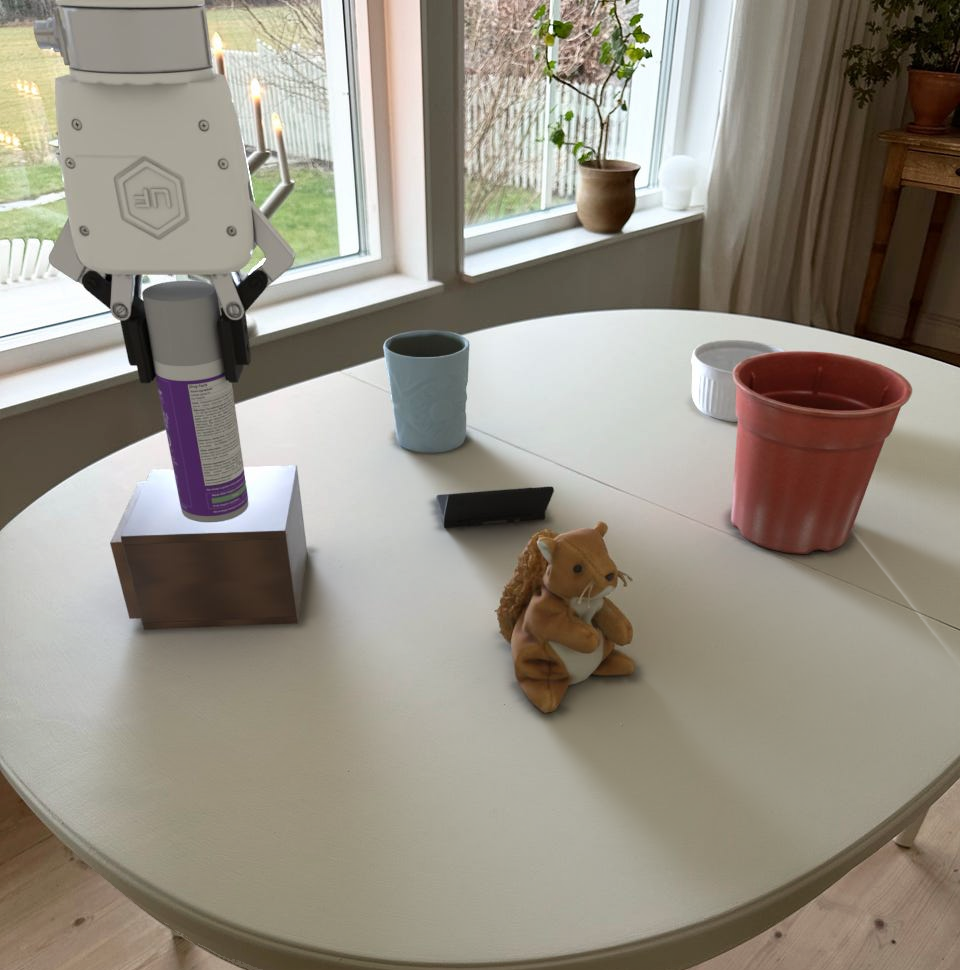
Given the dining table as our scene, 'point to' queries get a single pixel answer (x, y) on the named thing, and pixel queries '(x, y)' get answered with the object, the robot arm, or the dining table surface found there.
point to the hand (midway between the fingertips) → (193, 372)
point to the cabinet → (218, 555)
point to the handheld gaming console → (494, 506)
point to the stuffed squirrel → (564, 614)
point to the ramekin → (721, 374)
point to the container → (196, 399)
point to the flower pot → (808, 444)
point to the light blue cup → (428, 388)
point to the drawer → (121, 558)
